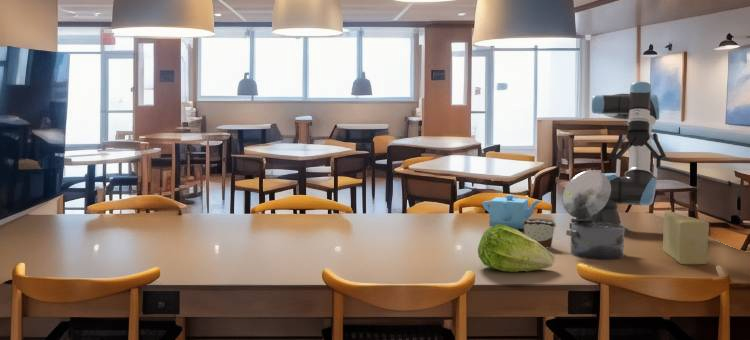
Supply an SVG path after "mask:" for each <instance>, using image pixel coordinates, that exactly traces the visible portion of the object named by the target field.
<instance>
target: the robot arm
mask: <svg viewBox="0 0 750 340" xmlns="http://www.w3.org/2000/svg"><path fill="white" fill-rule="evenodd" d="M651 85H652V84H650V83H649V82H647V81H635V82H633V83H631V84H630V88H629V93H616V94H610V95H609V94H604V95H603V94H596V95H595V94H594V95H593V96H592V98H591V99H592V100H591V112H592V113H593V114H598V115H603V116H606V117H608V118H611V119H617V120H627V124H628V127H627V134H622V133H619V135H618V140H617V141H616V142H615V145H614V146H613V149H612V150H611V152H610V153H609V155H608V156H609V158H611V159H612V160H613V168H614V169H615V172H609V173H608V172H606V173H603V174H604V175H605V176H606V177H607V178H608V179H609V181H610V184H611V194H610V197H609V200H608V202H607V203H606V205H605V206H604V207H603V209H602V210H600V211H599V212H598V213H597V214H595V215H593V216H591V217H588V218H592V219H593V221H592V222H602V223H611V224H617V225H620V226H622V222H621V218H620V215H619V212H618V207H619V206H618V205H631V206H632V205H633V206H640V207H641V206H651V205H653V202H654V199H655V195H656V189H657V182H658V181H657V180H658V179H657V178H658V169H661V165H662V164H661V161H662V159H663V160H664V159H666V158H667V155H666V153H665V151H664V149H663V147H662V145H661V143H660V141H659V136H658V134H657V133H656V132H654V133H652V129H653V127H652V126H654V125H655V124H656V121H659V119H660V103H659V97H658V95H656V94H655V93H652V87H651ZM626 139H627V141H626V143H625V144H624V145H623V142H624V141H625V140H626ZM652 141H654V144H655V145H656V147H657V150H658V152H659V154H658V152H657V151H655V149H654V148H653V147H652ZM622 145H623V147H622V148H621V146H622ZM620 148H621V149H620ZM628 150H629V156H628V157H629V158H628V170H627V171H625V173H624V176H621V159H620V158H622V156H624V155H625V153H626V152H627V151H628ZM651 153H652V154H653V156H654V157H655V158H654V159H653V172H652V171H651V155H652V154H651Z"/></svg>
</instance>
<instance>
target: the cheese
mask: <svg viewBox="0 0 750 340" xmlns="http://www.w3.org/2000/svg"><path fill="white" fill-rule="evenodd" d="M709 230H710V223H709V222H708V221H705V220H702V219H698V218H695V217H692V216H687V215H684V214H680V213H677V212H676V211H675V212H673V211H672V210H671V211H664V214H663V234H662V240H663V241H662V252H664V253H666V255H668V256H670V257H672V258H673V259H674V260H675V261H677V262H678V263H679V264H680V265H706V264H707V263H708V253H709V252H708V251H709V249H708V248H709V246H708V245H709V233H710V232H709Z"/></svg>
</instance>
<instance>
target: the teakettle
mask: <svg viewBox="0 0 750 340" xmlns="http://www.w3.org/2000/svg"><path fill="white" fill-rule="evenodd" d="M541 202H542V200H534V201H533V202H531V204H530V206H529V198H517V195H514V194H505V197H500V196H499V197H497V196H496V197H494V198H493V199H491V200H486V201H483V202H482V206H483V208H484V210H486V211H487V212H488V213H489V227H493V226H495V225H498V224H501V225H506V226H508V227H511V228H513V229H516V230H518V231H520V230H522V229H524V225H522V223H523V221H524V219H530V218H531V217H532V216H533V213H534V211H535V207H536V206H537V205H538V204H539V203H541Z"/></svg>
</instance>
